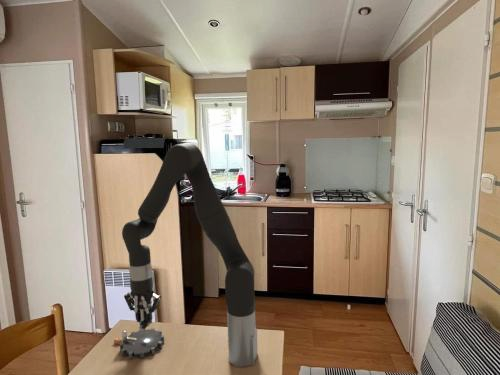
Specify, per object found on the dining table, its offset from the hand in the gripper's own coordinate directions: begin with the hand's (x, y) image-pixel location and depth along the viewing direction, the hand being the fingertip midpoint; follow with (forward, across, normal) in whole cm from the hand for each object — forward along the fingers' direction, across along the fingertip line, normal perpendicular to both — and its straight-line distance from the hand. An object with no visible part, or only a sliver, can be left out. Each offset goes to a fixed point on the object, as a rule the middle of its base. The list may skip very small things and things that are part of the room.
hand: (144, 321), depth 111 cm
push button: (+2, 0, 0) cm, 2 cm away
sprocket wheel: (+9, -1, 0) cm, 9 cm away
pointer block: (+9, -11, 0) cm, 15 cm away
